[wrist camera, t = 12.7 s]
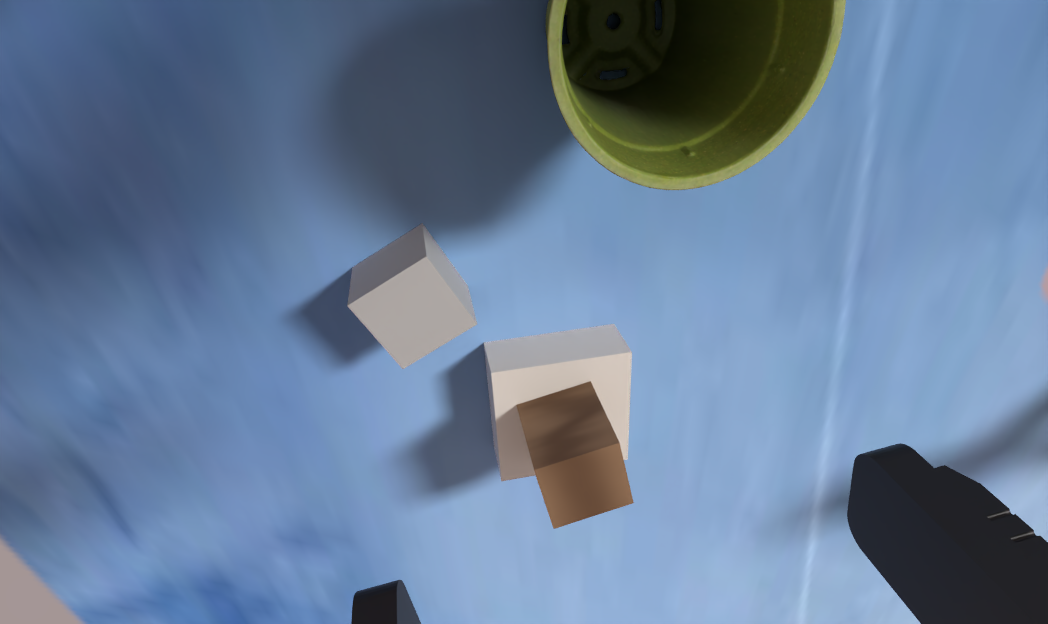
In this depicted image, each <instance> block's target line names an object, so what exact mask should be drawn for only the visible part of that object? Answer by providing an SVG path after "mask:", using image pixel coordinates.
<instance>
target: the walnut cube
mask: <svg viewBox="0 0 1048 624" xmlns="http://www.w3.org/2000/svg"><path fill="white" fill-rule="evenodd" d="M516 406H517V410H518V414H519V417H520V421H521V424H522V428H523V432H524V435H525V439H526V443H527V446H528V450H529V453H530V457H531V461H532V464H533V468H534V471H535V474H536V477H537V480H538V483H539V486H540V489H541V492H542V495H543V498H544V501H545V504H546V507H547V510H548V513H549V516H550V519H551V522H552V525H553V528H554V529H555V528H558V527H561V526H564V525H567V524H570V523H573V522H576V521H580V520H583V519H586V518H589V517H592V516H595V515H598V514H601V513H604V512H607V511H610V510H613V509H616V508H619V507H623V506H626V505H629V504H632V503H633V499H632V495H631V490H630V486H629V482H628V477H627V473H626V468H625V464H624V460H623V455H622V451H621V447H620V442H619V440H618V438H617V436H616V434H615V432H614V430H613V428H612V425H611V423H610V421H609V419H608V417H607V415H606V413H605V411H604V409H603V406H602V404H601V402H600V400H599V398H598V396H597V394H596V392H595V389H594V387H593V385H592V383H591V381H590V382H587V383H583V384H580V385H577V386H574V387H571V388H568V389H565V390H561V391H558V392H555V393H552V394H549V395H546V396H542V397H539V398H536V399H533V400H530V401H527V402H524V403H520V404H517V405H516Z"/></svg>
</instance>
